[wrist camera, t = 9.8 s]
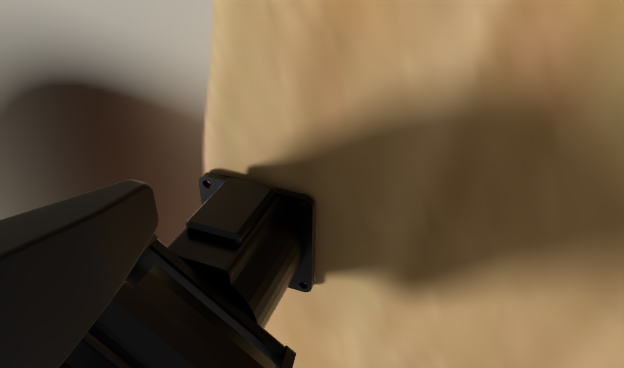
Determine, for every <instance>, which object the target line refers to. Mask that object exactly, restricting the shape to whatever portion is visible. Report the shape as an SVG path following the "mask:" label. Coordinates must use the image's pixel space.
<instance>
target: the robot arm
mask: <svg viewBox="0 0 624 368" xmlns="http://www.w3.org/2000/svg"><path fill="white" fill-rule="evenodd" d="M207 181H209V182H210V183H211V184H209V183H208V182H207ZM199 187H200V194H201V201H202V206H201V207H200V208H199V209H198V210H197V211H196V212H195V213H194V214H193V215H192V216H191V217H190V219H188V221H187V222H186V223H185V226H186V227H185V228H184V229H183V230H182V231H181V233H180V234H179V235H178V236H177V237H176V238H175V239H174V240H173V241H172V242H171V243H170V244H169V245H168V246H165V245H164V244H163V243H162V242H161V241H159V240H158V236H157V235H156V234H154V233H155V231H156V228H157V225H158V214H157V209H156V203H155V197H154V192H153V189H152V187H151V186H150V185H149V184H147V183H144V182H140V181H136V180H125V181H122V182H119V183H116V184H113V185H109V186H106V187H103V188H100V189H97V190H94V191H91V192H87V193H84V194H81V195H78V196H75V197H72V198H69V199H65V200H62V201H59V202H56V203H53V204H49V205H46V206H43V207H40V208H37V209H33V210H30V211H27V212H24V213H21V214H18V215H15V216H11V217H8V218H5V219H2V220H0V368H293V364H294V360H295V356H296V353H295V352H294V351H293V350H292V349H290V348H289V347H288V346H284V345H283V344H281V343H280V342H279V341H278V340H277V339H275V338H274V337H273V336H272V335H271V334H270V333H268V332H267V331H266V330H265V329H264V328H265V326H266V324H267V322H268V321H269V319H270V317H271V315H272V314H273V312H274V310H275V308H276V307H277V305H278V303H279V301H280V300H281V298H282V296H283V294H284V293H285V291H286V289H287V287H289V288H292V289H295V290H299V291H302V292H309V291H310V290H311V289H312V287H313V285H314V261H315V206H316V205H315V201H314V200H313V198H311V197H310V196H308V195H305V194H301V193H296V192H292V191H287V190H283V189H279V188H274V187H271V186H267V185H262V184H258V183H254V182H249V181H245V180H240V179H236V178H232V177H227V176H222V175H218V174H214V173H205V174H204V175H203V176H201V178H200V179H199ZM302 203H304V204H306V205H307V206H308V207H305V206H304V205H303V204H302ZM303 282H304V283H303ZM305 283H306V284H305Z"/></svg>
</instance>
